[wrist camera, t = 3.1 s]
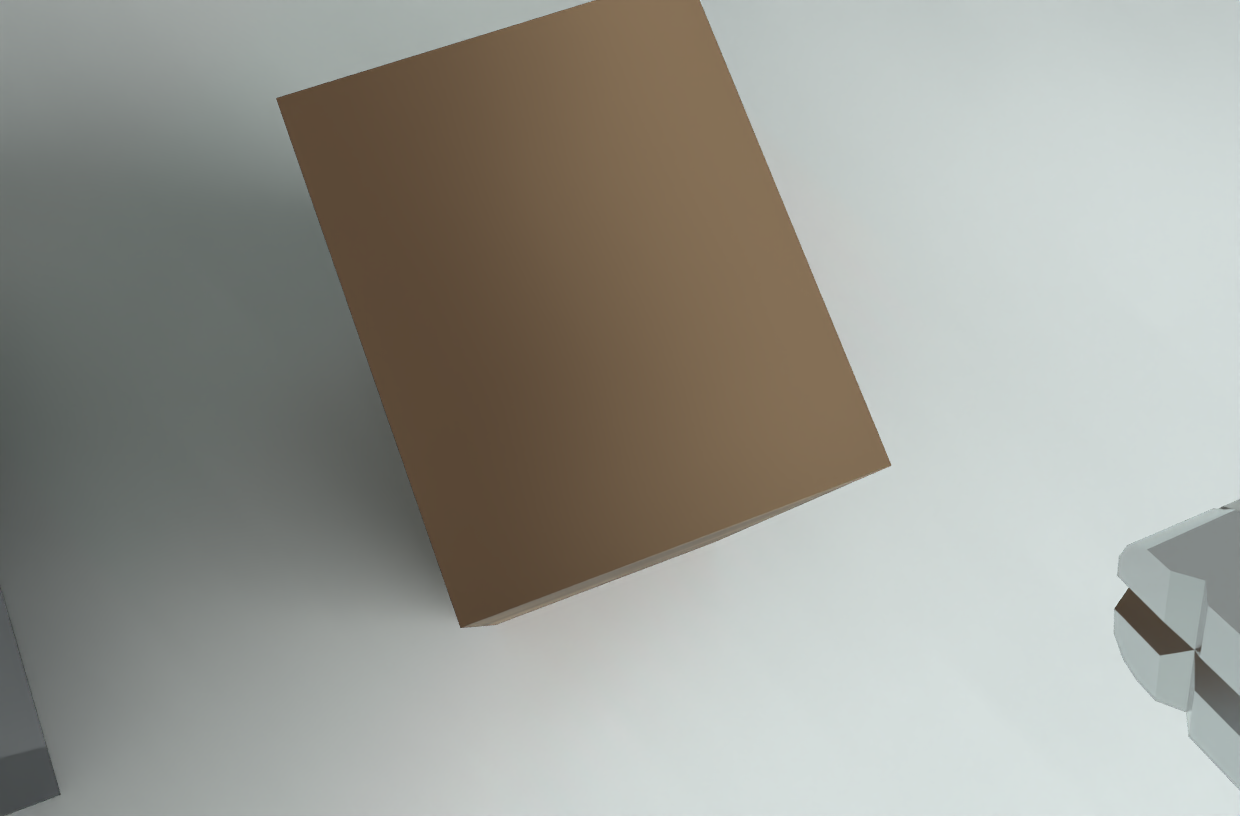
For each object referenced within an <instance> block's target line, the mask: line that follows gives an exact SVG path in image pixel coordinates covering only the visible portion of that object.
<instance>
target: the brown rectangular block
mask: <svg viewBox="0 0 1240 816" xmlns="http://www.w3.org/2000/svg"><path fill="white" fill-rule="evenodd" d="M276 99H277V102H278V105H279V108H280V111H281V114H282V117H283V119H284V122H285V125H286V128H287V131H288V134H289V137H290V140H291V142H292V145H293V148H294V151H295V154H296V157H297V160H298V163H299V165H300V168H301V171H302V174H303V177H304V180H305V183H306V185H307V188H308V191H309V194H310V197H311V200H312V203H313V206H314V208H315V211H316V214H317V217H318V220H319V223H320V226H321V229H322V231H323V234H324V237H325V240H326V243H327V246H328V249H329V252H330V254H331V257H332V260H333V263H334V266H335V269H336V272H337V274H338V277H339V280H340V283H341V286H342V289H343V292H344V295H345V297H346V300H347V303H348V306H349V309H350V312H351V315H352V318H353V320H354V323H355V326H356V329H357V332H358V335H359V338H360V341H361V343H362V346H363V349H364V352H365V355H366V358H367V361H368V364H369V366H370V369H371V372H372V375H373V378H374V381H375V384H376V386H377V389H378V392H379V395H380V398H381V401H382V404H383V407H384V409H385V412H386V415H387V418H388V421H389V424H390V427H391V430H392V432H393V435H394V438H395V441H396V444H397V447H398V450H399V453H400V455H401V458H402V461H403V464H404V467H405V470H406V473H407V476H408V478H409V481H410V484H411V487H412V490H413V493H414V496H415V498H416V501H417V504H418V507H419V510H420V513H421V516H422V519H423V521H424V524H425V527H426V530H427V533H428V536H429V539H430V542H431V544H432V547H433V550H434V553H435V556H436V559H437V562H438V565H439V567H440V570H441V573H442V576H443V579H444V582H445V585H446V588H447V590H448V593H449V596H450V599H451V602H452V605H453V608H454V610H455V613H456V616H457V619H458V622H459V625H460V628H465V627H477V626H488V625H496V624H499V623H502V622H504V621H507V620H510V619H512V618H515V617H518V616H520V615H523V614H525V613H528V612H531V611H533V610H536V609H539V608H541V607H544V606H547V605H549V604H552V603H555V602H557V601H560V600H562V599H565V598H568V597H570V596H573V595H576V594H578V593H581V592H584V591H586V590H589V589H592V588H594V587H597V586H599V585H602V584H605V583H607V582H610V581H613V580H615V579H618V578H621V577H623V576H626V575H629V574H631V573H634V572H636V571H639V570H642V569H644V568H647V567H650V566H652V565H655V564H658V563H660V562H663V561H666V560H668V559H671V558H673V557H676V556H679V555H681V554H684V553H687V552H689V551H692V550H695V549H697V548H700V547H703V546H705V545H708V544H711V543H713V542H716V541H718V540H720V539H723V538H725V537H727V536H730V535H732V534H734V533H737V532H739V531H741V530H743V529H746V528H748V527H750V526H753V525H755V524H757V523H760V522H762V521H764V520H767V519H769V518H771V517H773V516H776V515H778V514H780V513H783V512H785V511H787V510H790V509H792V508H794V507H797V506H799V505H801V504H804V503H806V502H808V501H810V500H813V499H815V498H817V497H820V496H822V495H824V494H827V493H829V492H831V491H834V490H836V489H838V488H841V487H843V486H845V485H847V484H850V483H852V482H854V481H857V480H859V479H861V478H864V477H866V476H868V475H871V474H873V473H875V472H877V471H880V470H882V469H884V468H887V467H889V466H891V463H890V461H889V458H888V456H887V454H886V451H885V449H884V446H883V444H882V441H881V439H880V437H879V434H878V432H877V429H876V427H875V424H874V422H873V420H872V417H871V415H870V412H869V410H868V408H867V405H866V403H865V400H864V398H863V395H862V393H861V391H860V388H859V386H858V383H857V381H856V378H855V376H854V374H853V371H852V369H851V366H850V364H849V361H848V359H847V357H846V354H845V352H844V349H843V347H842V344H841V342H840V340H839V337H838V335H837V332H836V330H835V327H834V325H833V323H832V320H831V318H830V315H829V313H828V310H827V308H826V306H825V303H824V301H823V298H822V296H821V294H820V291H819V289H818V286H817V284H816V281H815V279H814V277H813V274H812V272H811V269H810V267H809V264H808V262H807V260H806V257H805V255H804V252H803V250H802V247H801V245H800V243H799V240H798V238H797V235H796V233H795V230H794V228H793V226H792V223H791V221H790V218H789V216H788V213H787V211H786V209H785V206H784V204H783V201H782V199H781V196H780V194H779V192H778V189H777V187H776V184H775V182H774V180H773V177H772V175H771V172H770V170H769V167H768V165H767V163H766V160H765V158H764V155H763V153H762V150H761V148H760V146H759V143H758V141H757V138H756V136H755V133H754V131H753V129H752V126H751V124H750V121H749V119H748V116H747V114H746V112H745V109H744V107H743V104H742V102H741V99H740V97H739V95H738V92H737V90H736V87H735V85H734V82H733V80H732V78H731V75H730V73H729V70H728V68H727V66H726V63H725V61H724V58H723V56H722V53H721V51H720V49H719V46H718V44H717V41H716V39H715V36H714V34H713V32H712V29H711V27H710V24H709V22H708V19H707V17H706V15H705V12H704V10H703V7H702V5H701V2H700V0H595V1H592V2H588V3H585V4H582V5H579V6H575V7H572V8H569V9H566V10H562V11H559V12H556V13H552V14H549V15H546V16H543V17H539V18H536V19H533V20H530V21H526V22H523V23H520V24H517V25H513V26H510V27H507V28H504V29H500V30H497V31H494V32H491V33H487V34H484V35H481V36H477V37H474V38H471V39H468V40H464V41H461V42H458V43H455V44H451V45H448V46H445V47H442V48H438V49H435V50H432V51H429V52H425V53H422V54H419V55H416V56H412V57H409V58H406V59H402V60H399V61H396V62H393V63H389V64H386V65H383V66H380V67H376V68H373V69H370V70H367V71H363V72H360V73H357V74H354V75H350V76H347V77H344V78H341V79H337V80H334V81H331V82H327V83H324V84H321V85H318V86H314V87H311V88H308V89H305V90H301V91H298V92H295V93H292V94H288V95H285V96H282V97H279V98H276Z"/></svg>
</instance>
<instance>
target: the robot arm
mask: <svg viewBox="0 0 1240 816" xmlns="http://www.w3.org/2000/svg"><path fill="white" fill-rule="evenodd" d="M1117 576H1118V577H1119V578H1120V579H1121V580H1122V581H1123V582H1124V583H1125V584H1126V585H1127V586H1128V587H1129V588H1128V590H1127V591H1126V593H1125V594H1124V595H1123V597H1122V598H1121V600H1120V601H1119V603H1118V604H1117V606H1116V607H1115V609H1114V635H1115V638H1116V641H1117V644H1118V647H1119V649H1120V652H1121V655H1122V658H1123V660H1124V662H1125V663H1126V665H1127V666H1128V668H1129V670H1130V671H1131V673H1132V674H1133V676H1134V677H1135V679H1136V680H1137V681H1138V682H1139V684H1140V685H1141V686H1142V687H1143V688H1144V689H1145V690H1146V691H1147V692H1148V693H1149V695H1150V696H1151V697H1152V698H1153V699H1154V700H1155V701H1157V702H1160V703H1163V704H1166V705H1168V706H1171V707H1174V708H1176V709H1179V710H1182V711H1184V712H1186V716H1187V726H1188V736H1189V737H1190V739H1191V740H1192V741H1193V742H1194V743H1195V744H1196V745H1197V746H1198V747H1199V748H1200V749H1201V750H1202V751H1203V752H1204V753H1205V754H1206V755H1207V756H1208V757H1209V759H1210V760H1211V761H1212V762H1213V763H1214V764H1215V765H1216V766H1217V767H1218V768H1219V769H1220V770H1221V771H1222V772H1223V773H1224V774H1225V775H1226V776H1227V778H1228V779H1229V780H1230V781H1231V782H1232V783H1233V784H1234V785H1235V786H1236V787H1237V788H1238V789H1239V790H1240V499H1239V500H1237V501H1234V502H1232V503H1230V504H1227V505H1225V506H1223V507H1221V508H1219V509H1211V510H1209V511H1206V512H1204V513H1202V514H1199V515H1197V516H1195V517H1192V518H1190V519H1188V520H1185V521H1183V522H1181V523H1178V524H1176V525H1174V526H1171V527H1169V528H1167V529H1164V530H1162V531H1160V532H1157V533H1155V534H1153V535H1150V536H1148V537H1146V538H1143V539H1141V540H1139V541H1136V542H1134V543H1132V544H1129V545H1127V546H1126V548H1125V549H1124V550H1123V552H1122V553H1121V554H1120V556H1119V562H1118V572H1117Z"/></svg>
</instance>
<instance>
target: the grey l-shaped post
mask: <svg viewBox="0 0 1240 816" xmlns="http://www.w3.org/2000/svg"><path fill="white" fill-rule="evenodd" d="M58 795H60V791H59V788H58V784H57V781H56V777H55V774H54V771H53V767H52V764H51V760H50V757H49V753H48V750H47V746H46V743H45V740H44V736H43V733H42V729H41V726H40V722H39V719H38V715H37V712H36V709H35V705H34V702H33V698H32V695H31V691H30V688H29V684H28V681H27V678H26V674H25V671H24V667H23V664H22V660H21V657H20V653H19V650H18V647H17V643H16V640H15V636H14V633H13V629H12V626H11V622H10V619H9V616H8V612H7V609H6V605H5V602H4V598H3V595H2V591H1V588H0V816H5V815H8V814H10V813H13V812H16V811H18V810H21V809H24V808H26V807H29V806H32V805H34V804H37V803H39V802H42V801H45V800H47V799H50V798H53V797H55V796H58Z"/></svg>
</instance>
